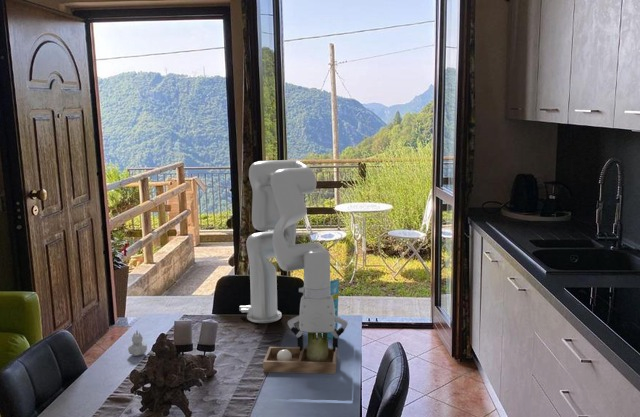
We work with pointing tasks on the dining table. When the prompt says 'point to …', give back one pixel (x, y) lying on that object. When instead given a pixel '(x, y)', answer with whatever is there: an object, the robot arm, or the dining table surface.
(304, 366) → the wooden compartment tray
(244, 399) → the dining table surface
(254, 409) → the dining table surface
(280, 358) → the cream egg
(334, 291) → the tube
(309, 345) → the fennel bulb
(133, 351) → the grey figurine
